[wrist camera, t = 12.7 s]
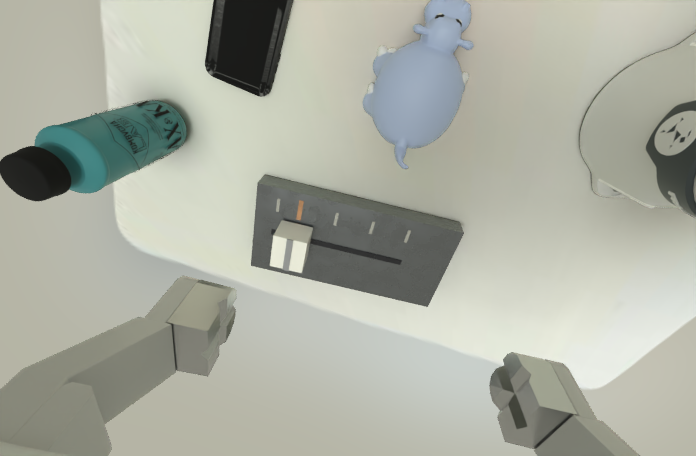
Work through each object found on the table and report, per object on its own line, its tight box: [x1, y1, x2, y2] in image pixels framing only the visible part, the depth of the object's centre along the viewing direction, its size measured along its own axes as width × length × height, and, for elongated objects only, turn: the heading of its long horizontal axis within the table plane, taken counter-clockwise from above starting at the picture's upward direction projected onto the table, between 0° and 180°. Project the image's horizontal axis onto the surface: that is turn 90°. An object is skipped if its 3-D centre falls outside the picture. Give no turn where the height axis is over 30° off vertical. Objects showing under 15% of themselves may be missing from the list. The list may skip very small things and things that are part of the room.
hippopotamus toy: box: [363, 0, 474, 169], centre depth 33 cm, size 11×15×10 cm
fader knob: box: [270, 220, 313, 273], centre depth 44 cm, size 4×5×4 cm
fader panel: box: [251, 175, 464, 307], centre depth 47 cm, size 28×14×3 cm, turn 77°
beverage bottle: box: [0, 100, 186, 201], centre depth 33 cm, size 6×7×20 cm
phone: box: [205, 0, 293, 97], centre depth 35 cm, size 8×1×15 cm
